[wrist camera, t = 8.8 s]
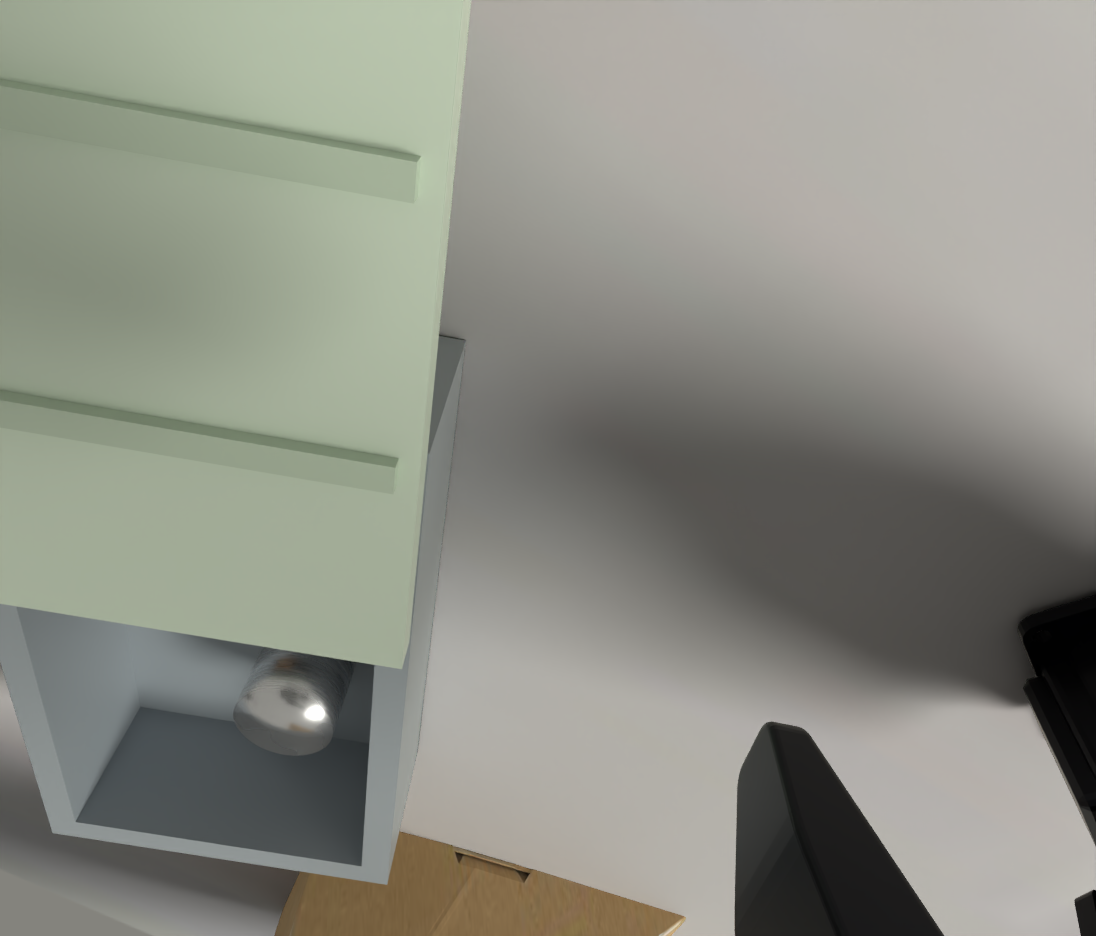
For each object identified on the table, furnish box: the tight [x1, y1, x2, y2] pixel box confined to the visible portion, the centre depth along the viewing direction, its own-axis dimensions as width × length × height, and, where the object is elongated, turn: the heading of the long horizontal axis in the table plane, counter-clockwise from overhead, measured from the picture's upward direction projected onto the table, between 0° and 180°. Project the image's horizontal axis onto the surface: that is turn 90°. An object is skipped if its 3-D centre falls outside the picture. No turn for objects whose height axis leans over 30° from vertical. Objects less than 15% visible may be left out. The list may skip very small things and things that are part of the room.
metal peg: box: [233, 647, 357, 756], centre depth 26 cm, size 3×3×3 cm
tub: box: [0, 336, 466, 885], centre depth 23 cm, size 16×10×5 cm, turn 171°
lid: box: [0, 0, 471, 669], centre depth 13 cm, size 19×10×4 cm, turn 171°
